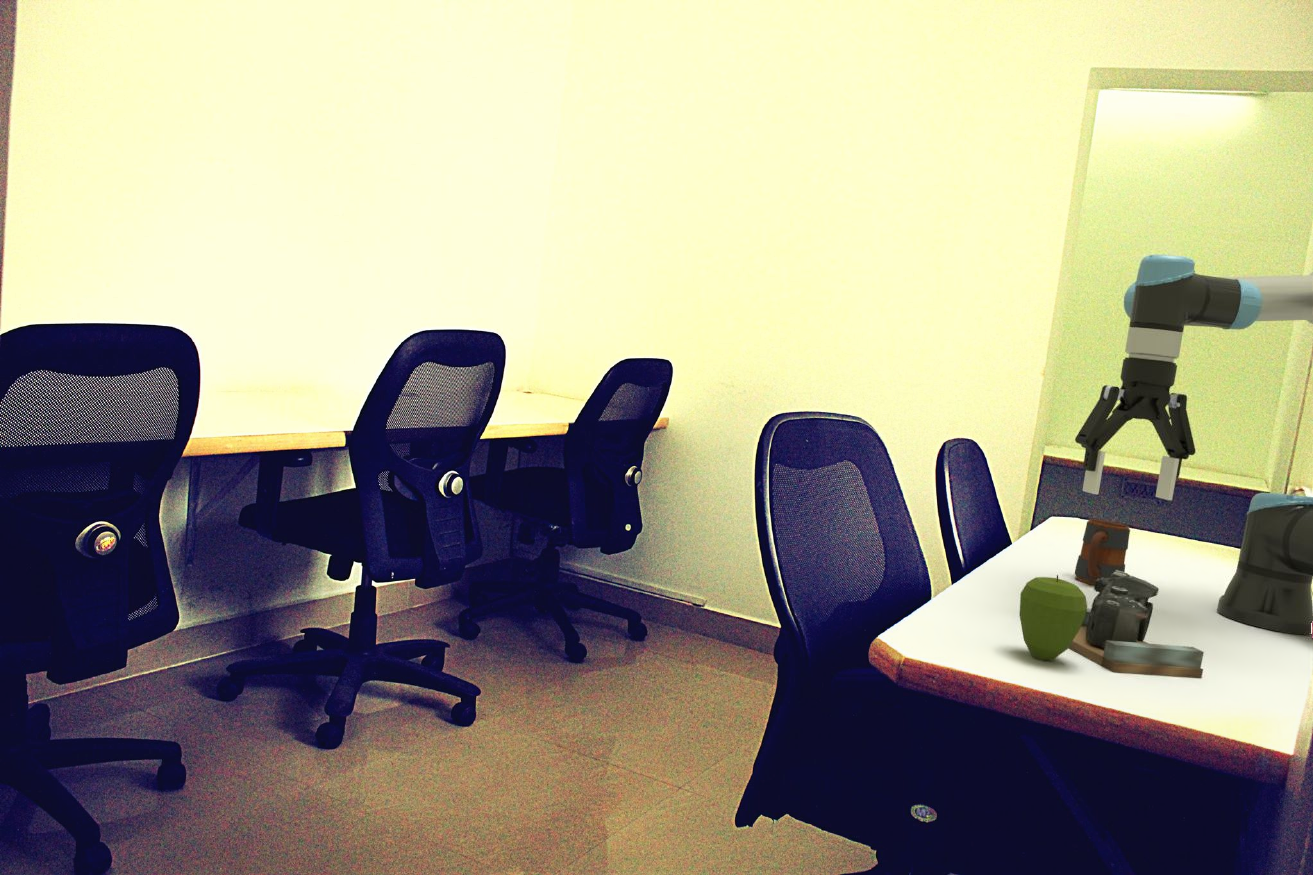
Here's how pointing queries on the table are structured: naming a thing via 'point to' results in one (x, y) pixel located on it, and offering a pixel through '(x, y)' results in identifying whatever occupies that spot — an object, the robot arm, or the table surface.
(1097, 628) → the camera
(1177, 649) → the stand
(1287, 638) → the table surface
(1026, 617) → the apple
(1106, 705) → the table surface
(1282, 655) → the table surface
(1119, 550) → the mug
